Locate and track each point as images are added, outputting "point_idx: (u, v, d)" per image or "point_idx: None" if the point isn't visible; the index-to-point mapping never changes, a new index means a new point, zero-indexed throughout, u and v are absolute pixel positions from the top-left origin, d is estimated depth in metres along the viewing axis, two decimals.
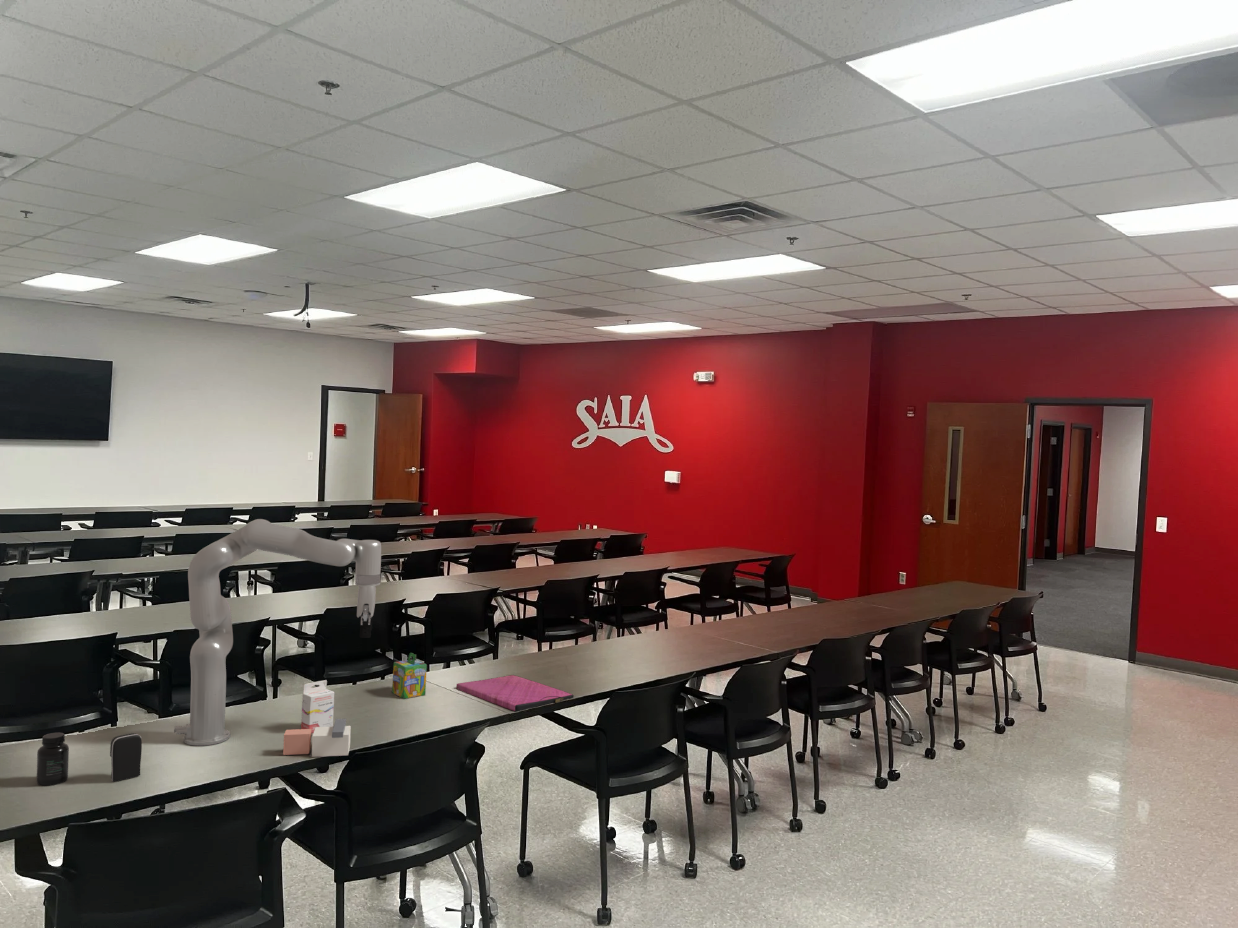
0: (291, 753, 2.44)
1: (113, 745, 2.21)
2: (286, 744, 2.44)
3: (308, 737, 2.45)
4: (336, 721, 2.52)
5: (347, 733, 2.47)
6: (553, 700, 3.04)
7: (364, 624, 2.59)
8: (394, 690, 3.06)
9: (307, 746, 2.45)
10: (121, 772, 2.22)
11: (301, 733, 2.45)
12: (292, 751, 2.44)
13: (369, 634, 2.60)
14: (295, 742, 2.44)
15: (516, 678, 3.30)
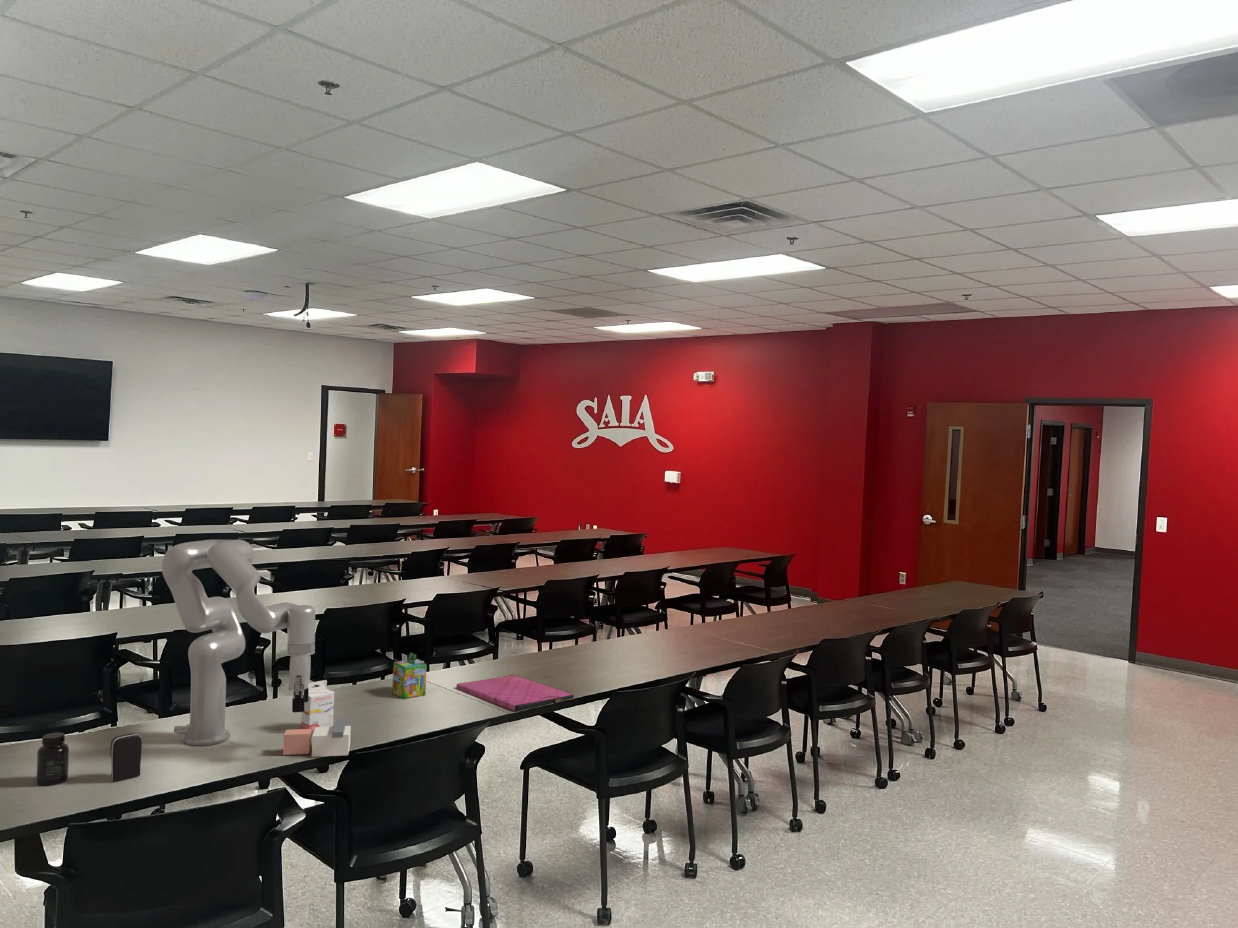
0: (291, 753, 2.44)
1: (113, 745, 2.21)
2: (286, 744, 2.44)
3: (308, 737, 2.45)
4: (336, 721, 2.52)
5: (347, 733, 2.47)
6: (553, 700, 3.04)
7: (296, 698, 2.40)
8: (394, 690, 3.06)
9: (307, 746, 2.45)
10: (121, 772, 2.22)
11: (301, 733, 2.45)
12: (292, 751, 2.44)
13: (302, 708, 2.41)
14: (295, 742, 2.44)
15: (516, 678, 3.30)
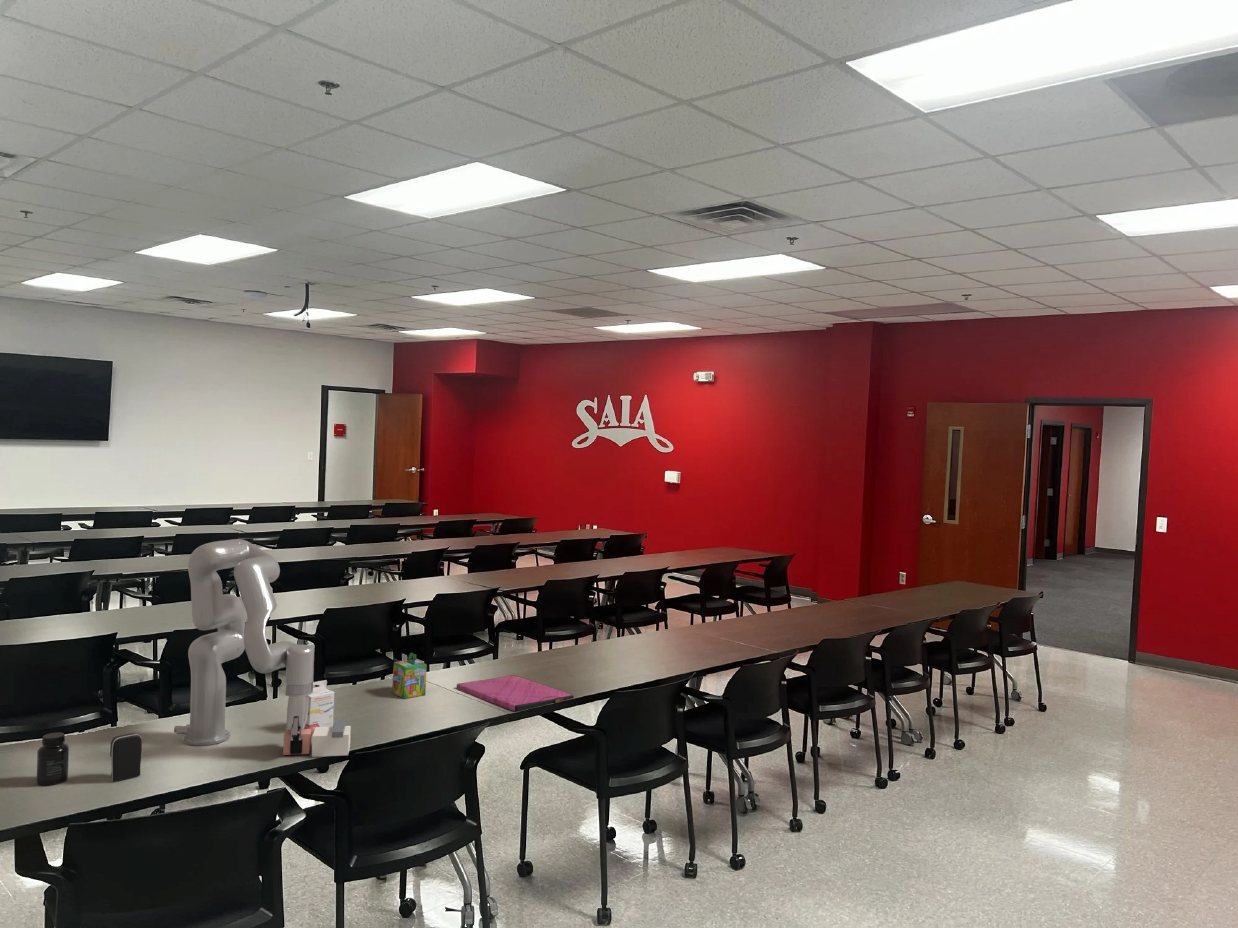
0: None
1: (113, 745, 2.21)
2: (286, 744, 2.44)
3: (308, 737, 2.45)
4: (336, 721, 2.52)
5: (347, 733, 2.47)
6: (553, 700, 3.04)
7: (295, 740, 2.43)
8: (394, 690, 3.06)
9: (307, 746, 2.45)
10: (121, 772, 2.22)
11: None
12: None
13: (300, 750, 2.44)
14: None
15: (516, 678, 3.30)
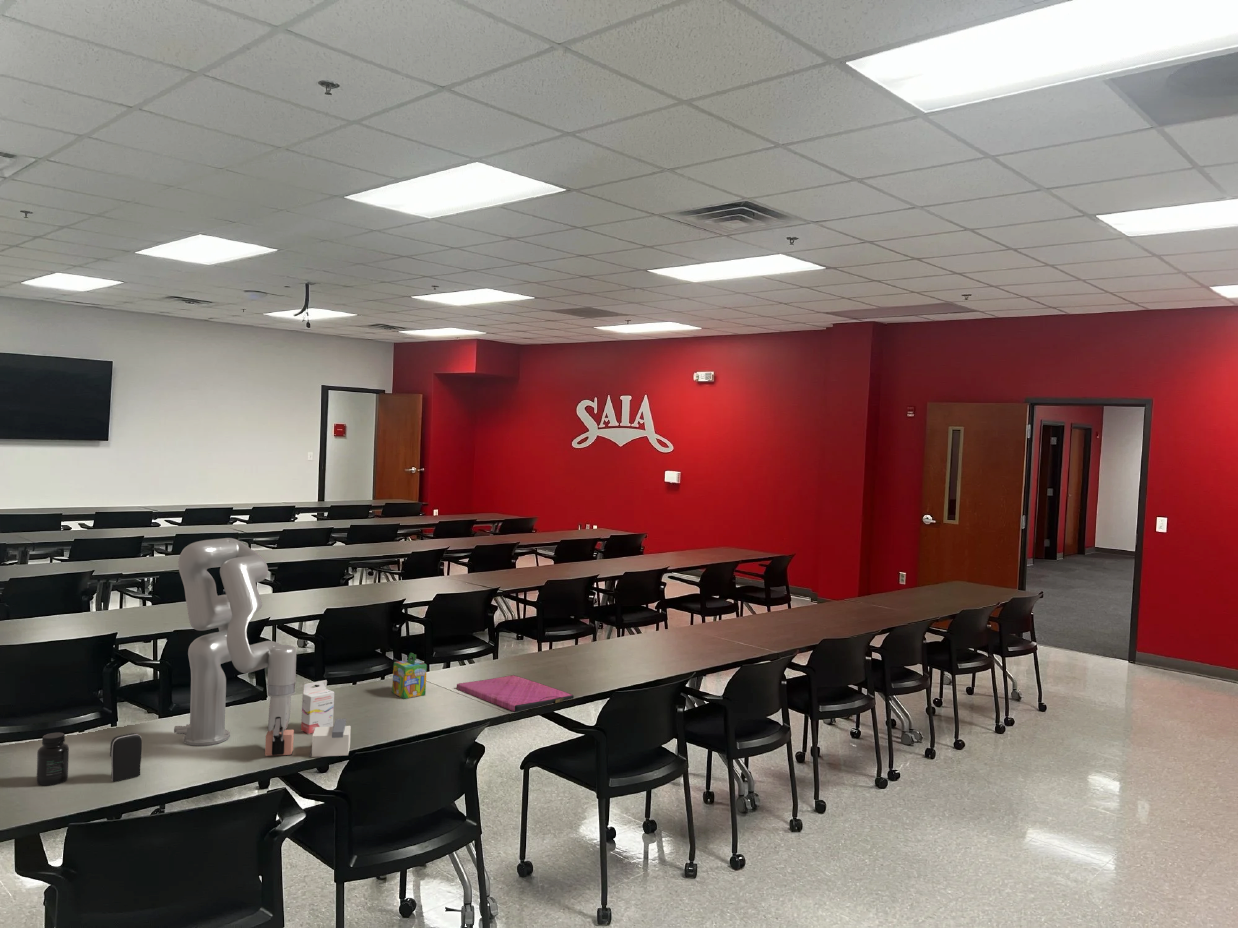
0: None
1: (113, 745, 2.21)
2: (268, 745, 2.43)
3: (290, 738, 2.44)
4: (336, 721, 2.52)
5: (347, 733, 2.47)
6: (553, 700, 3.04)
7: (276, 741, 2.42)
8: (394, 690, 3.06)
9: (289, 747, 2.44)
10: (121, 772, 2.22)
11: None
12: None
13: (282, 751, 2.43)
14: None
15: (516, 678, 3.30)
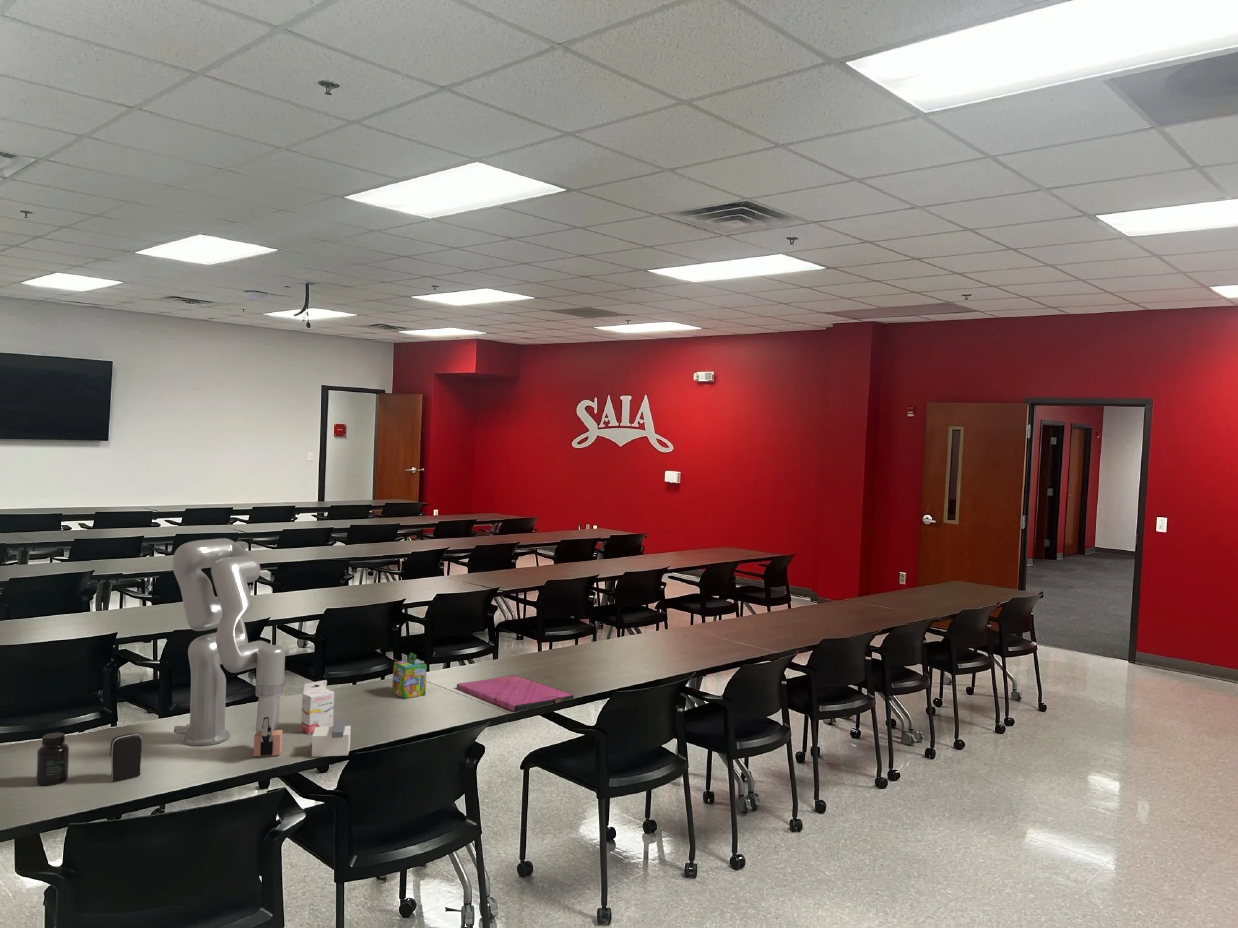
0: None
1: (113, 745, 2.21)
2: (256, 745, 2.42)
3: (279, 738, 2.43)
4: (336, 721, 2.52)
5: (347, 733, 2.47)
6: (553, 700, 3.04)
7: (265, 742, 2.41)
8: (394, 690, 3.06)
9: (278, 747, 2.43)
10: (121, 772, 2.22)
11: (272, 734, 2.43)
12: None
13: (271, 751, 2.42)
14: None
15: (517, 678, 3.30)
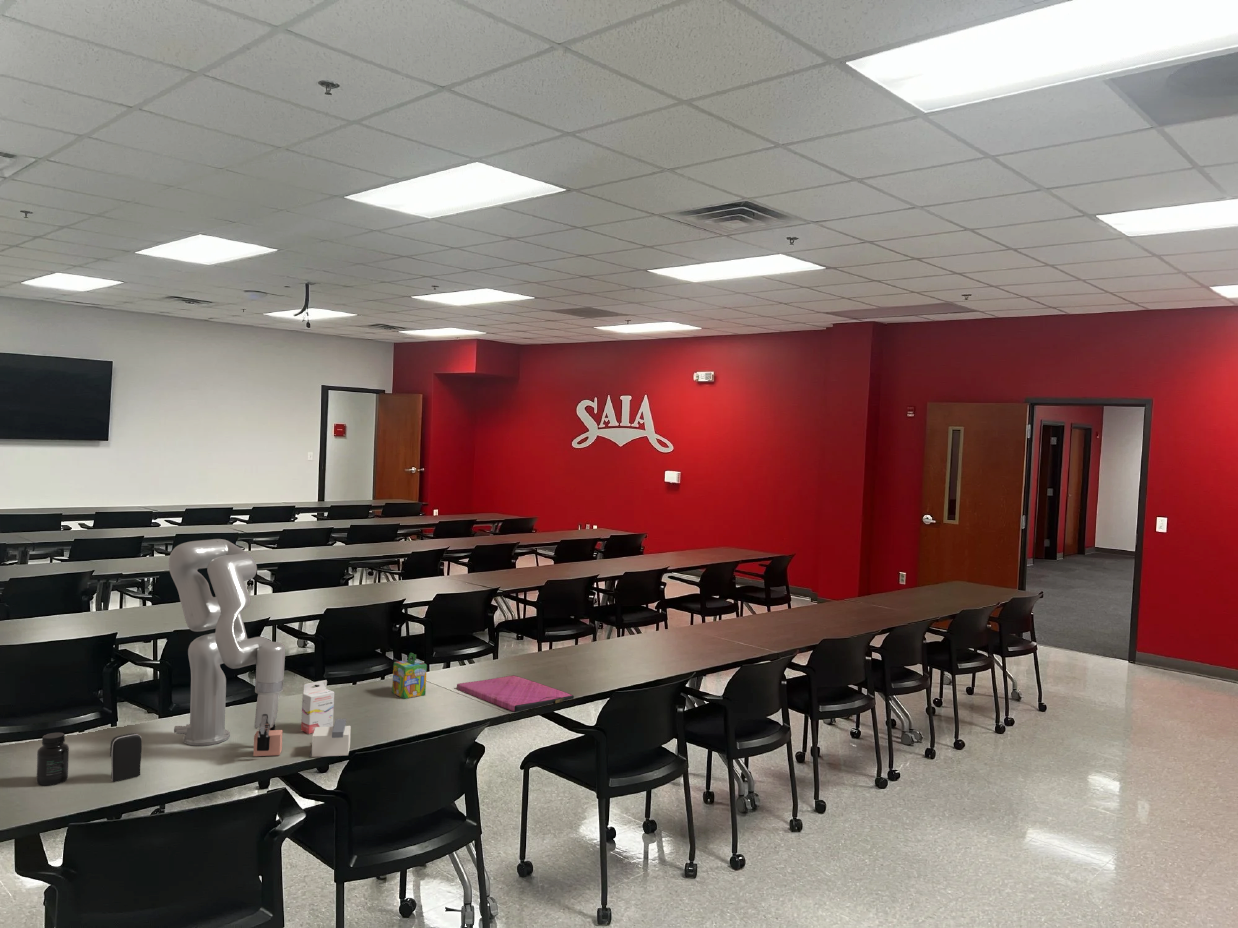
0: (261, 754, 2.42)
1: (113, 745, 2.21)
2: (256, 745, 2.42)
3: (279, 738, 2.43)
4: (336, 721, 2.52)
5: (347, 733, 2.47)
6: (553, 701, 3.04)
7: (262, 737, 2.39)
8: (394, 690, 3.06)
9: (278, 747, 2.43)
10: (121, 772, 2.22)
11: (272, 734, 2.43)
12: (262, 752, 2.42)
13: (267, 747, 2.40)
14: None
15: (517, 678, 3.30)
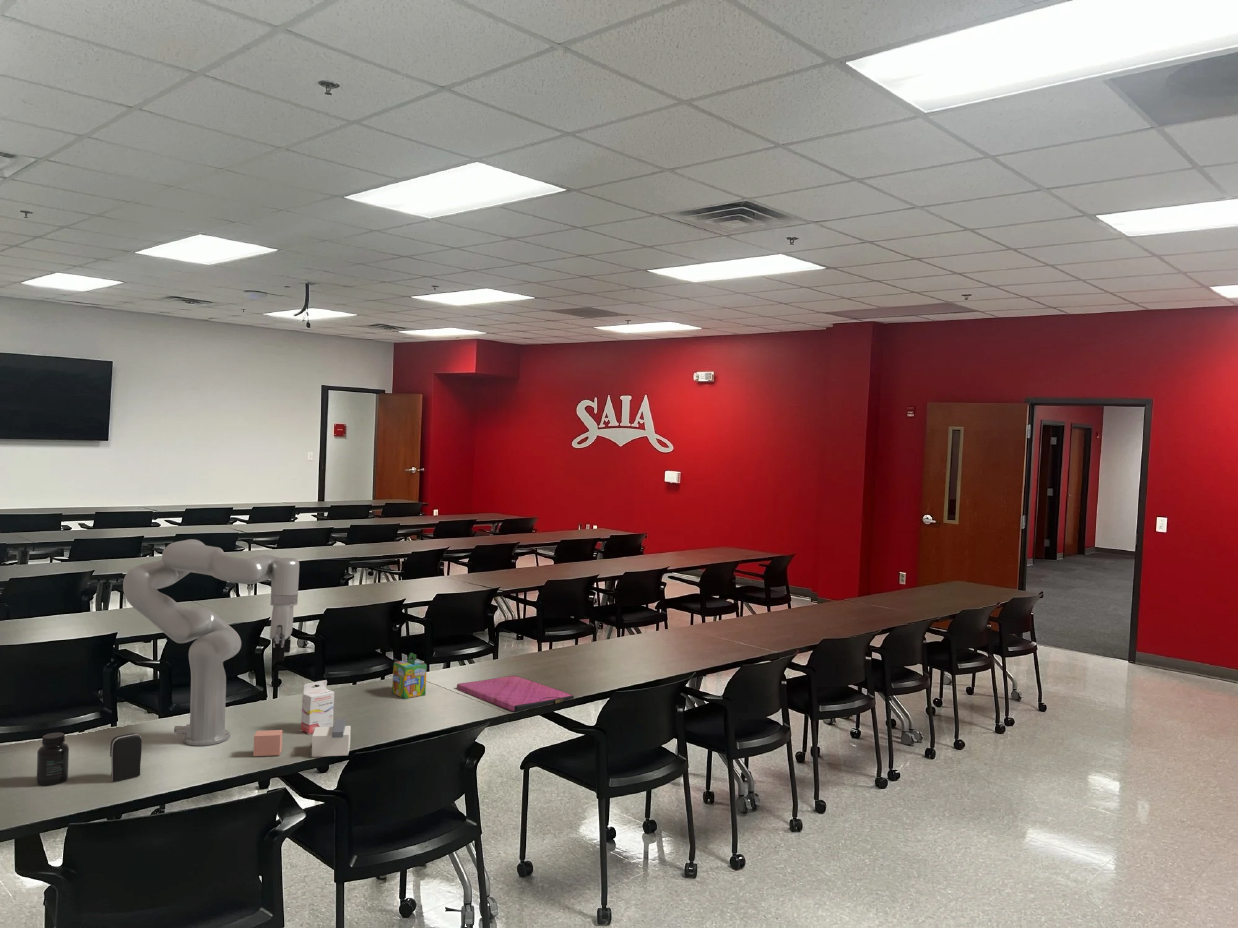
0: (261, 754, 2.42)
1: (113, 745, 2.21)
2: (256, 745, 2.42)
3: (279, 738, 2.43)
4: (336, 721, 2.52)
5: (347, 733, 2.47)
6: (553, 701, 3.03)
7: (277, 647, 2.47)
8: (394, 690, 3.06)
9: (278, 747, 2.43)
10: (121, 772, 2.22)
11: (272, 734, 2.43)
12: (262, 752, 2.42)
13: (282, 657, 2.48)
14: (265, 743, 2.42)
15: (517, 679, 3.30)
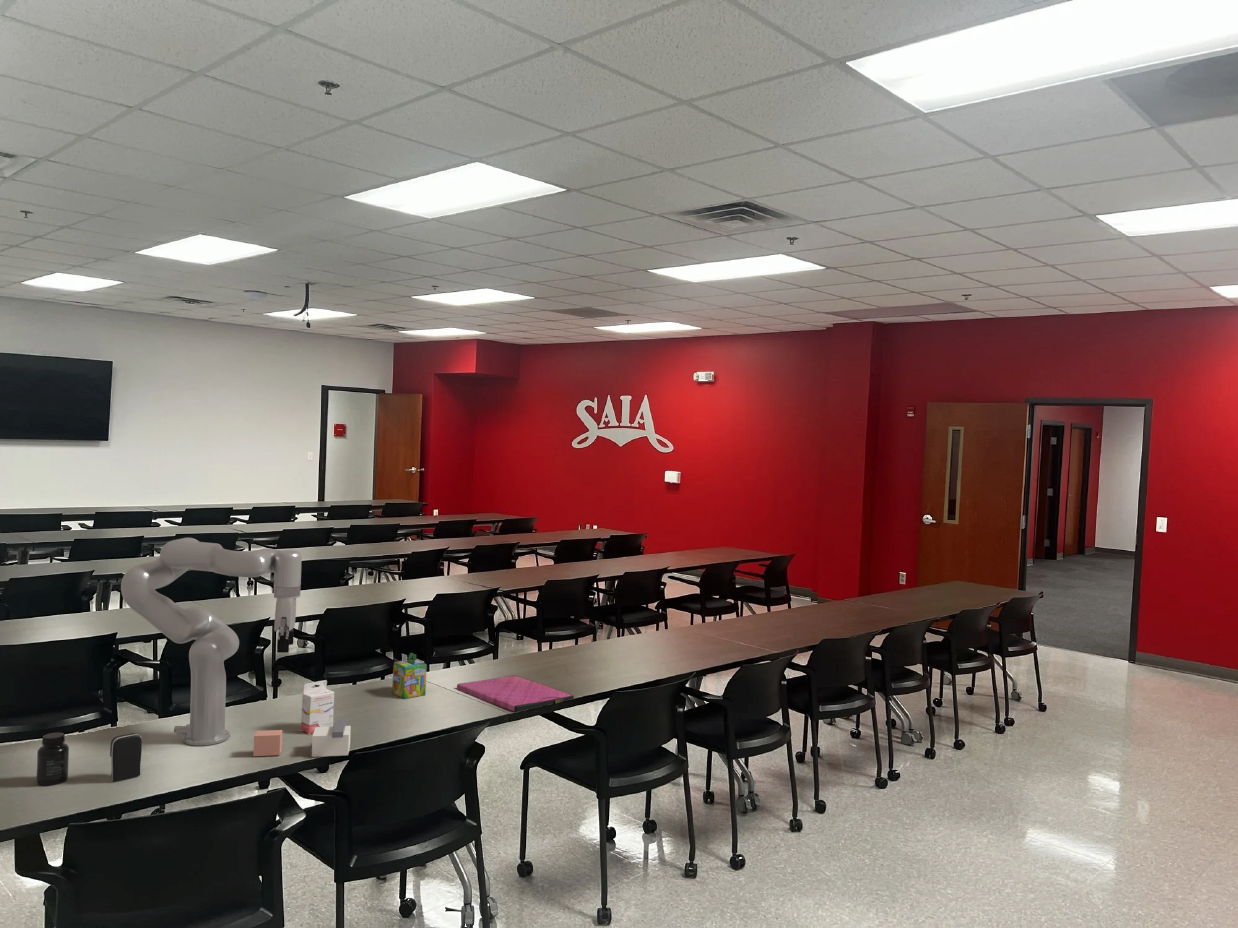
0: (261, 754, 2.42)
1: (113, 745, 2.21)
2: (256, 745, 2.42)
3: (279, 738, 2.43)
4: (336, 721, 2.52)
5: (347, 733, 2.47)
6: (553, 701, 3.03)
7: (281, 638, 2.48)
8: (394, 690, 3.06)
9: (278, 747, 2.43)
10: (121, 772, 2.22)
11: (272, 734, 2.43)
12: (262, 752, 2.42)
13: (287, 649, 2.50)
14: (265, 743, 2.42)
15: (517, 678, 3.30)
